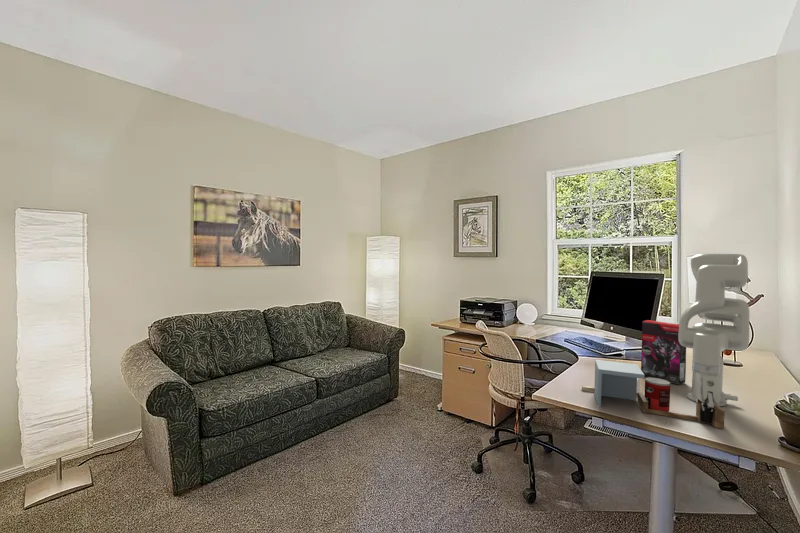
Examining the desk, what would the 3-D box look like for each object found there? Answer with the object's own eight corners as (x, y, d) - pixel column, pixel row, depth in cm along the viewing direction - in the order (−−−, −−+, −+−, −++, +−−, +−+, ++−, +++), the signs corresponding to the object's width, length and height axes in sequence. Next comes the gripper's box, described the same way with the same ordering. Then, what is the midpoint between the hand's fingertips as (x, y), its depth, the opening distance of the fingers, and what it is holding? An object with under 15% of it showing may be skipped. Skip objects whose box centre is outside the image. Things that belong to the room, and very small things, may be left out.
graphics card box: (639, 375, 184) (641, 320, 183) (646, 373, 188) (648, 319, 187) (679, 385, 170) (681, 326, 169) (686, 383, 173) (688, 325, 173)
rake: (708, 412, 139) (708, 396, 139) (723, 428, 126) (724, 411, 126) (637, 402, 148) (638, 387, 148) (645, 416, 135) (645, 399, 135)
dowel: (612, 393, 159) (613, 389, 159) (613, 395, 157) (614, 390, 157) (581, 389, 163) (582, 385, 162) (582, 391, 161) (582, 386, 161)
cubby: (635, 399, 151) (637, 364, 151) (643, 413, 137) (644, 374, 137) (594, 393, 157) (595, 359, 157) (597, 406, 144) (598, 369, 143)
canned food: (644, 403, 147) (645, 376, 147) (669, 408, 143) (670, 380, 142) (643, 409, 141) (644, 380, 141) (669, 415, 137) (670, 385, 136)
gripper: (728, 376, 122) (726, 431, 122) (710, 363, 137) (708, 413, 138) (700, 373, 125) (698, 427, 125) (685, 361, 140) (683, 409, 141)
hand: (703, 419), depth 132 cm, fingers closed on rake, 3 cm apart
